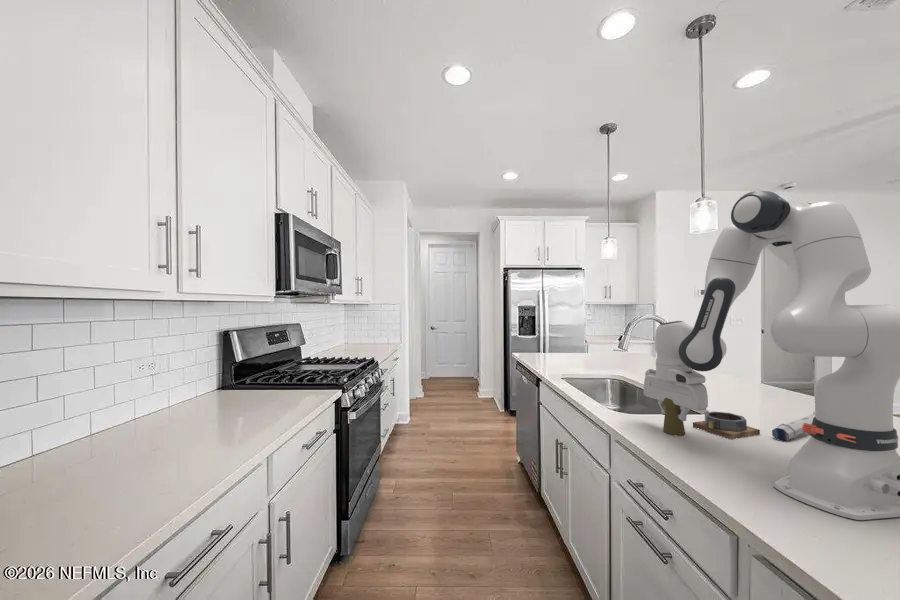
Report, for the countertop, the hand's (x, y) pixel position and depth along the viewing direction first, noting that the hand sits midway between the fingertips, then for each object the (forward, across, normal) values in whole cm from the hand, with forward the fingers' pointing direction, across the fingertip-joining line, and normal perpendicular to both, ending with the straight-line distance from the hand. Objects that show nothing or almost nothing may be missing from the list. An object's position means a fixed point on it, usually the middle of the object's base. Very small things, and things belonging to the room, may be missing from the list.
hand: (673, 417), depth 114 cm
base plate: (+5, +4, +16) cm, 17 cm away
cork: (+5, 0, 0) cm, 5 cm away
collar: (+3, +4, +15) cm, 16 cm away
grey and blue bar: (+5, +14, +35) cm, 38 cm away
